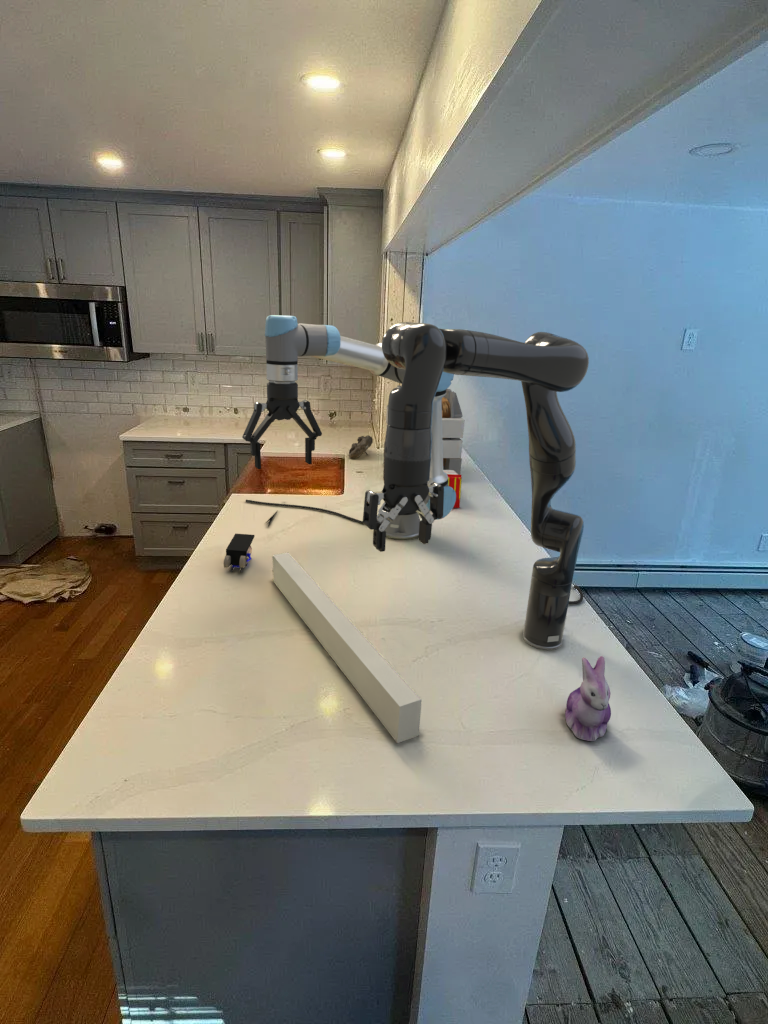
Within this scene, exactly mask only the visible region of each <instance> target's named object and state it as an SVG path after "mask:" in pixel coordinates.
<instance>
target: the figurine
mask: <svg viewBox="0 0 768 1024" xmlns="http://www.w3.org/2000/svg"><path fill="white" fill-rule="evenodd" d="M581 669H582V682H580V683H581V684H580V686H579V687H577V688H575V689H574V690H573V691H571V692H570V693H569V694H568V696H567V700H566V708H565V713H564V716H565V722H566V726H568V727H569V729H570V730H571V731H572V732H573V735H574V736H575V737H576V738H578V739H580V740H584V741H586V742H587V741H588V742H595V741H597V740H598V738H602V737H604V736H605V734H606V731H607V728H608V723H609V722H610V720H611V717H612V709H611V705H610V699H611V688H610V686H609V684H608V681H607V679H606V675H605V670H606V659H605V656H603V655H601V656H599V657H598V658H597V660H596V662H595V665H594V667H593V666H592V664H591V663H590V660H589V659H587V658H586V657H582V658H581Z"/></svg>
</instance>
